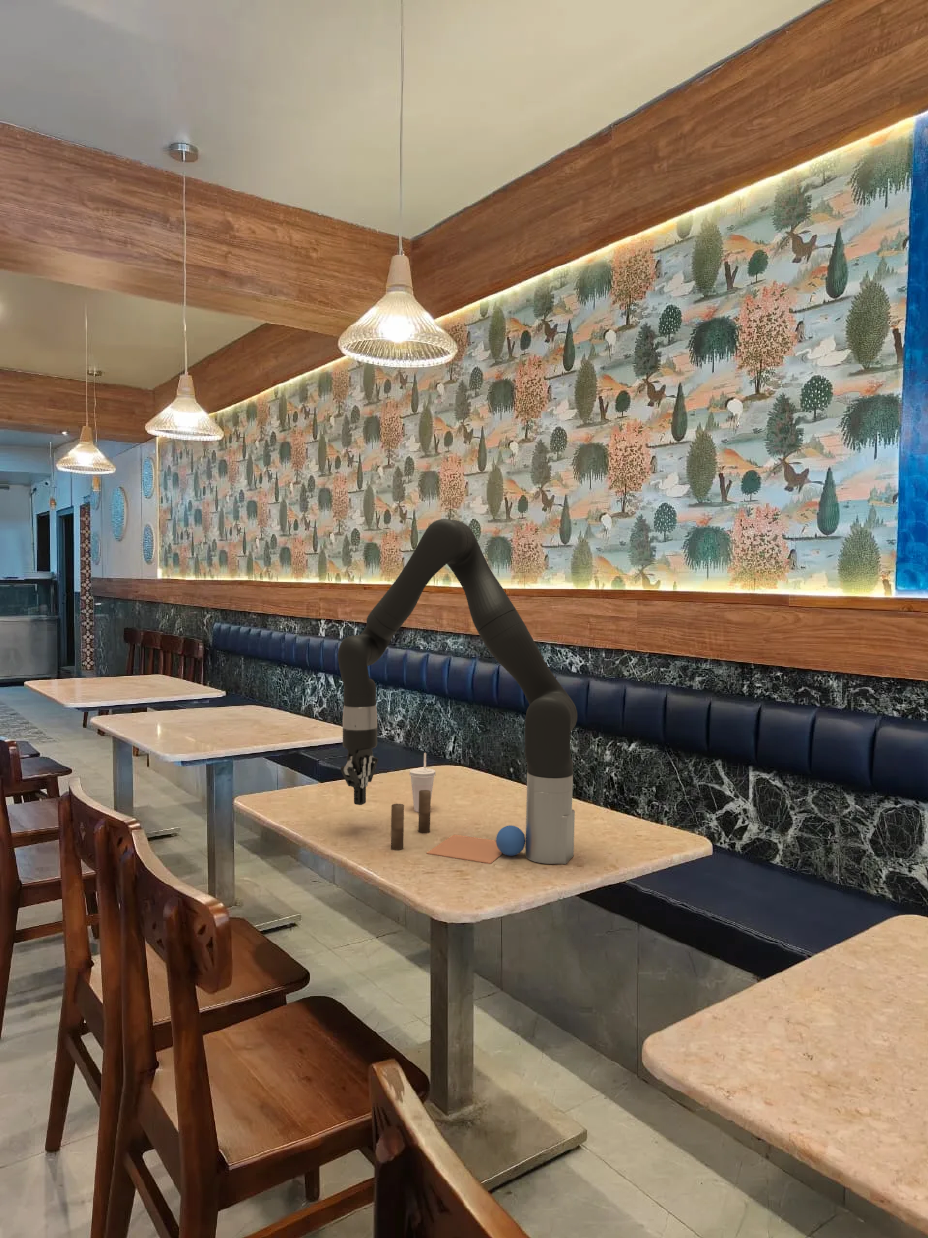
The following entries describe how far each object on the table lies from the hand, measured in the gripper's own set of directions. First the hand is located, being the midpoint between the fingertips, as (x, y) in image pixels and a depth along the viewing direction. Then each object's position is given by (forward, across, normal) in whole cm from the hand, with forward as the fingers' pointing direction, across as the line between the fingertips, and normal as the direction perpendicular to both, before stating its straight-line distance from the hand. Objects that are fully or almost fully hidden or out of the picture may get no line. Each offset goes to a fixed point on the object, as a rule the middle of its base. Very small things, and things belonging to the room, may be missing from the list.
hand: (360, 804), depth 187 cm
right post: (+6, +6, -12) cm, 15 cm away
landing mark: (+7, 0, -26) cm, 27 cm away
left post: (+6, -7, -12) cm, 16 cm away
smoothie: (+6, +22, -4) cm, 23 cm away
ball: (+4, 0, -35) cm, 35 cm away
